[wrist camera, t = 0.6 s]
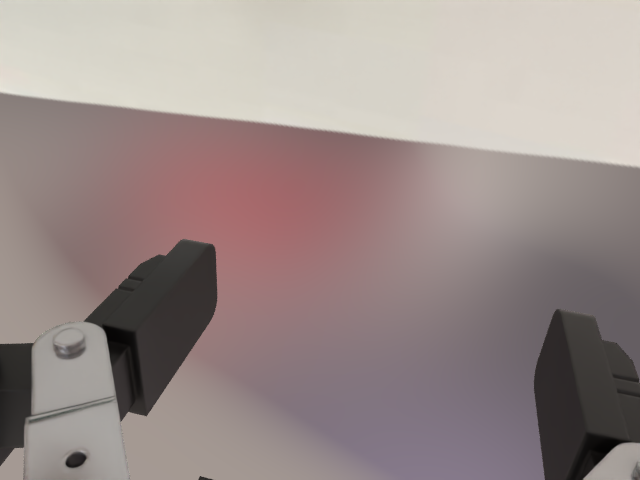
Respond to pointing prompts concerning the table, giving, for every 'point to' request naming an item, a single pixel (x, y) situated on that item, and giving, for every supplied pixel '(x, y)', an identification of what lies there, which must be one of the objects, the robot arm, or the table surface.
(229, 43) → the table surface
